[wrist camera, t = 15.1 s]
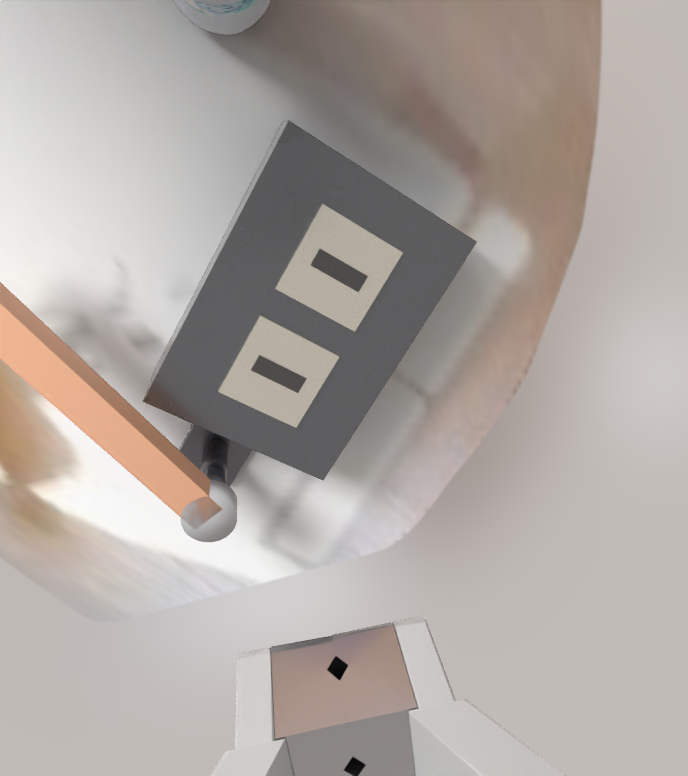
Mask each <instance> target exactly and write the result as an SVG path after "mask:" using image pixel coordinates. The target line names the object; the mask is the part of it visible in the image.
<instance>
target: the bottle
mask: <svg viewBox="0 0 688 776" xmlns="http://www.w3.org/2000/svg"><path fill="white" fill-rule="evenodd" d="M270 1H271V0H174V2H175V4H176V5H177V6H178V8H179V9H180V11H181V12H182V13H183V14H184V15H185V16H186V17H187V18H188V19H189V20H190V21H191V22H192V23H193V24H194V25H196V26H198V27H199V28H201V29H204V30H207V31H209V32H212V33H218V34H225V35H233V34H237V33H240V32H242V31H244V30H246V29H247V28H249V27H251V26H252V25H253V24H254V23H255V22H257V21H258V20H259V19H260V18H261V17H262V15H263V14H264V13H265V11H266V10H267V8H268V6H269V4H270Z"/></svg>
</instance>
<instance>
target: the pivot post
mask: <svg viewBox="0 0 688 776" xmlns="http://www.w3.org/2000/svg"><path fill="white" fill-rule="evenodd" d="M251 450H252V449H250V448H248V447H246V446H243V445H241V444H239V443H237V442H234V441H232V440H230V439H227V438H225V437H223V436H221V435H218V434H216V433H214V432H211V431H209V430H207V429H205V428H202V427H200V426H198V425H195V424H193V425H192V427H191V429H190V431H189V433H188V434H187V436H186V438H185V440H184V442H183V443H182V445H181V447H180V449H179V451H180V452H181V453H182V454H183V455H184V456H185V457H187V458H188V459H189V460H190V461H191V462H192V463H193V464H194V465H195V466H196V467H197V468H198V469H199V470H200V471H201V472H203V473H204V474H205V475H206V476H207V477H208V478H209V479H210V480H216V481H220V482H223V483H225V484H226V485H228V486H229V487H230V485H231V483H232V482H233V480H234V478H235V477H236V475H237V473H238V471H239V470H240V468H241V466H242V465H243V463H244V461H245V460H246V458H247V456H248V455H249V453H250V451H251Z"/></svg>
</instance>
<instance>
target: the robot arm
mask: <svg viewBox="0 0 688 776" xmlns="http://www.w3.org/2000/svg"><path fill="white" fill-rule="evenodd" d="M236 695H237V696H236V745H235V748H236V749H235V750H231V751H227V752H225V753H224V755H223V757H222V758H221V760H220V762H219V763H218V765H217V767H216V768H215V769H214V771H213V773H212V774H211V776H566V775H564V774H563V773H562V772H560V771H559V770H558V769H556V768H555V767H554V766H552V765H551V764H550V763H549V762H547V761H546V760H545V759H543V758H542V757H540V756H539V755H538V754H537V753H535V752H534V751H533V750H531V749H530V748H529V747H528V746H526V745H525V744H524V743H522V742H521V741H520V740H518V739H517V738H516V737H515V736H513V735H512V734H511V733H509V732H508V731H506V730H505V729H504V728H502V727H501V726H500V725H499V724H498V723H496V722H495V721H493V720H492V719H491V718H490V717H488V716H487V715H486V714H484V713H483V712H482V711H480V710H479V709H478V708H476V707H475V706H474V705H473V704H471V703H470V702H469V701H467V700H466V699H462V700H455V697H454V695H453V692H452V689H451V687H450V684H449V681H448V678H447V676H446V673H445V670H444V668H443V665H442V662H441V659H440V657H439V654H438V651H437V649H436V646H435V644H434V641H433V638H432V635H431V633H430V630H429V627H428V624H427V622H426V619H424V617H423V616H418V617H413V618H408V619H404V620H400V621H395V622H393V623H391V622H390V623H385V624H381V625H376V626H371V627H367V628H362V629H358V630H353V631H349V632H344V633H340V634H335V635H332V636H328V637H323V638H317V639H312V640H306V641H301V642H295V643H290V644H284V645H278V646H273V647H271V648H266V649H261V650H255V651H249V652H243V653H240V654H239V657H238V661H237V694H236Z"/></svg>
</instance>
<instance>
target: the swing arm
mask: <svg viewBox="0 0 688 776" xmlns="http://www.w3.org/2000/svg"><path fill="white" fill-rule="evenodd" d="M0 359H1V360H3V361H4V362H5V363H6V364H7V365H8V366H9V367H11V368H12V369H13V370H14V371H15V372H16V373H17V374H19V375H20V376H21V377H22V378H23V379H24V380H25V381H26V382H28V383H29V384H30V385H31V386H32V387H33V388H34V389H36V390H37V391H38V392H39V393H40V394H41V395H42V396H44V397H45V398H46V399H47V400H48V401H49V402H50V403H51V404H53V405H54V406H55V407H56V408H57V409H58V410H59V411H61V412H62V413H63V414H64V415H65V416H66V417H67V418H69V419H70V420H71V421H72V422H73V423H74V424H75V425H76V426H78V427H79V428H80V429H81V430H82V431H83V432H84V433H86V434H87V435H88V436H89V437H90V438H91V439H92V440H94V441H95V442H96V443H97V444H98V445H99V446H100V447H101V448H103V449H104V450H105V451H106V452H107V453H108V454H109V455H111V456H112V457H113V458H114V459H115V460H116V461H117V462H119V463H120V464H121V465H122V466H123V467H124V468H125V469H126V470H128V471H129V472H130V473H131V474H132V475H133V476H134V477H136V478H137V479H138V480H139V481H140V482H141V483H142V484H144V485H145V486H146V487H147V488H148V489H149V490H150V491H151V492H153V493H154V494H155V495H156V496H157V497H158V498H159V499H161V500H162V501H163V502H164V503H165V504H166V505H167V506H169V507H170V508H171V509H172V510H173V511H174V512H175V513H176V514H178V515H179V516H180V517H181V524H182V527H183V529H184V531H185V532H186V533H187V534H188V535H189V536H190V537H192V538H193V539H196V540H198V541H202V542H215V541H218V540H221V539H223V538H225V537H227V536H228V535H229V534H230V533H231V532H232V531H233V529H234V528H235V525H236V521H237V498H236V495H235V493H234V491H233V490H232V489H231V488H230V487H229V486H228V485H226V484H225V483H223V482H220V481H216V480H210V479H209V478H208V477H207V476H206V475H205V474H204V473H203V472H201V471H200V470H199V469H198V468H197V467H196V466H195V465H194V464H193V463H192V462H191V461H190V460H189V459H188V458H187V457H185V456H184V455H183V454H182V453H181V452H180V451H179V450H178V449H177V448H176V447H175V446H174V445H173V444H172V443H171V442H170V441H168V440H167V439H166V438H165V437H164V436H163V435H162V434H161V433H160V432H159V431H158V430H157V429H156V428H155V427H154V426H153V425H151V424H150V423H149V422H148V421H147V420H146V419H145V418H144V417H143V416H142V415H141V414H140V413H139V412H138V411H137V410H136V409H134V408H133V407H132V406H131V405H130V404H129V403H128V402H127V401H126V400H125V399H124V398H123V397H122V396H121V395H120V394H119V393H117V392H116V391H115V390H114V389H113V388H112V387H111V386H110V385H109V384H108V383H107V382H106V381H105V380H104V379H103V378H102V377H100V376H99V375H98V374H97V373H96V372H95V371H94V370H93V369H92V368H91V367H90V366H89V365H88V364H87V363H86V362H85V361H83V360H82V359H81V358H80V357H79V356H78V355H77V354H76V353H75V352H74V351H73V350H72V349H71V348H70V347H69V346H68V345H66V344H65V343H64V342H63V341H62V340H61V339H60V338H59V337H58V336H57V335H56V334H55V333H54V332H53V331H52V330H51V329H49V328H48V327H47V326H46V325H45V324H44V323H43V322H42V321H41V320H40V319H39V318H38V317H37V316H36V315H35V314H34V313H32V312H31V311H30V310H29V309H28V308H27V307H26V306H25V305H24V304H23V303H22V302H21V301H20V300H19V299H18V298H16V297H15V296H14V295H13V294H12V293H11V292H10V291H9V290H8V289H7V288H6V287H5V286H4V285H3V284H2V283H1V282H0Z"/></svg>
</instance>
